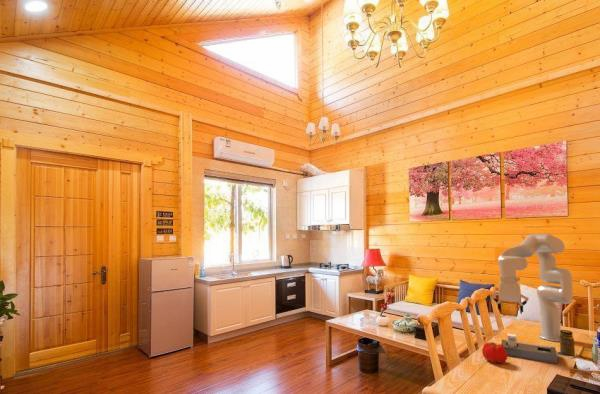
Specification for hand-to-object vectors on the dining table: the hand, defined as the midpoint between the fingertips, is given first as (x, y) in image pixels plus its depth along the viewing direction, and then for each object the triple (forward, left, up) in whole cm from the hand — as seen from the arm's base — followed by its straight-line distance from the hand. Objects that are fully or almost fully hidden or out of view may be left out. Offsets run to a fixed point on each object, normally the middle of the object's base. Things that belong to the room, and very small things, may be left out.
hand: (510, 312), depth 184 cm
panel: (0, +7, -21) cm, 22 cm away
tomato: (+20, -7, -21) cm, 30 cm away
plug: (0, 0, -21) cm, 21 cm away
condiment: (-12, +24, -21) cm, 34 cm away
